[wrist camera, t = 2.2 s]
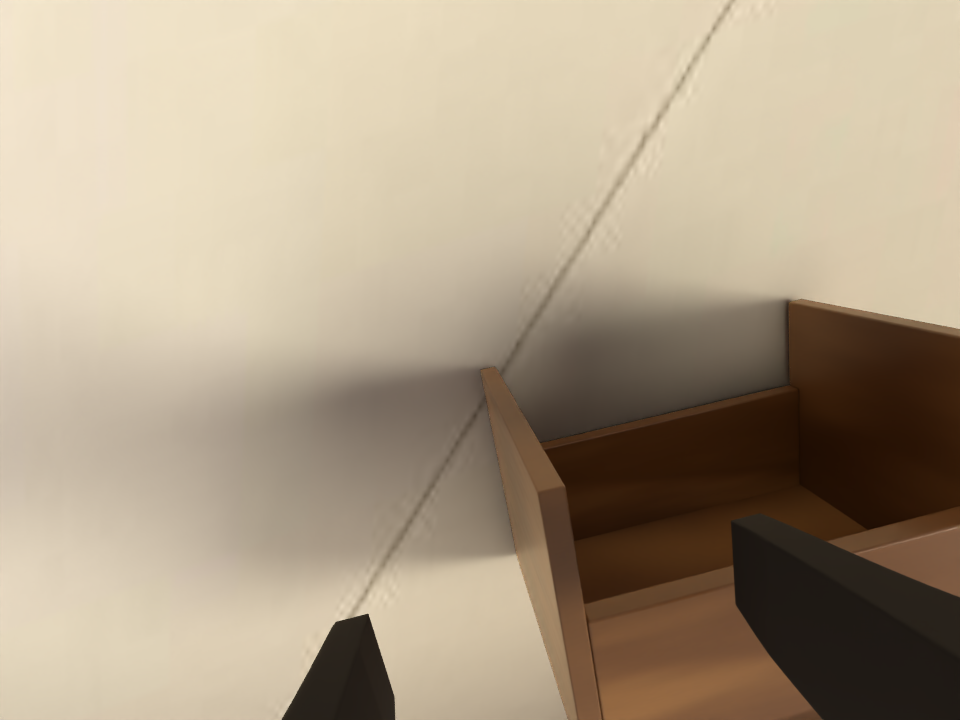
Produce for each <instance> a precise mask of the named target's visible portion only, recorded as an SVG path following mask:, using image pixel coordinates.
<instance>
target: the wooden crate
mask: <svg viewBox="0 0 960 720" xmlns="http://www.w3.org/2000/svg"><path fill="white" fill-rule="evenodd" d="M789 369H790V385H787V386H783V387H778V388H774V389H770V390H766V391H761V392H757V393H753V394H748V395H744V396H740V397H736V398H731V399H727V400H723V401H719V402H714V403H710V404H706V405H701V406H697V407H693V408H689V409H684V410H680V411H676V412H671V413H667V414H663V415H659V416H654V417H650V418H646V419H642V420H637V421H633V422H629V423H624V424H620V425H616V426H612V427H607V428H603V429H599V430H594V431H590V432H586V433H582V434H577V435H573V436H569V437H564V438H560V439H556V440H552V441H547V442H543V443H540V442H539V441H538V439H537V437H536V436H535V434H534V432H533V430H532V429H531V427H530V425H529V424H528V422H527V420H526V418H525V417H524V415H523V413H522V411H521V410H520V408H519V406H518V405H517V403H516V401H515V399H514V398H513V396H512V394H511V393H510V391H509V389H508V387H507V386H506V384H505V382H504V381H503V379H502V377H501V375H500V374H499V372H498V370H497V369H496V367H491V368H486V369H482V370H481V371H480V372H481V377H482V382H483V387H484V392H485V397H486V402H487V407H488V412H489V417H490V422H491V427H492V432H493V437H494V442H495V447H496V452H497V458H498V463H499V468H500V473H501V478H502V483H503V488H504V493H505V498H506V503H507V508H508V513H509V518H510V523H511V528H512V533H513V538H514V543H515V548H516V554H517V558H518V562H519V565H520V568H521V571H522V574H523V577H524V581H525V584H526V587H527V590H528V593H529V597H530V600H531V603H532V606H533V609H534V613H535V616H536V619H537V622H538V625H539V628H540V632H541V635H542V638H543V641H544V644H545V648H546V651H547V654H548V657H549V660H550V664H551V667H552V670H553V673H554V676H555V679H556V683H557V686H558V689H559V692H560V695H561V699H562V702H563V705H564V708H565V711H566V714H567V718H568V720H822V718H821V717H820V716H819V715H818V714H817V712H816V711H815V710H814V709H813V708H812V706H811V705H810V704H809V703H808V702H807V701H806V699H805V698H804V697H803V696H802V695H801V693H800V692H799V691H798V690H797V689H796V687H795V686H794V685H793V684H792V683H791V681H790V680H789V679H788V678H787V676H786V675H785V674H784V673H783V672H782V670H781V669H780V668H779V667H778V666H777V664H776V663H775V662H774V661H773V659H772V658H771V657H770V656H769V654H768V653H767V651H766V650H765V648H764V647H763V646H762V644H761V643H760V641H759V640H758V638H757V637H756V635H755V634H754V632H753V631H752V629H751V628H750V626H749V625H748V623H747V622H746V620H745V619H744V617H743V615H742V614H741V612H740V611H739V609H738V608H737V606H736V604H735V586H734V568H733V550H732V533H731V520H735V519H739V518H743V517H747V516H751V515H755V514H759V513H761V514H763V515H766V516H768V517H771V518H773V519H776V520H778V521H781V522H783V523H785V524H788V525H790V526H792V527H794V528H797V529H799V530H801V531H804V532H806V533H808V534H810V535H813V536H815V537H817V538H819V539H822V540H824V541H826V542H828V543H831V544H833V545H835V546H837V547H840V548H842V549H844V550H847V551H849V552H851V553H853V554H856V555H858V556H860V557H863V558H865V559H867V560H869V561H872V562H874V563H876V564H879V565H881V566H883V567H886V568H888V569H891V570H893V571H895V572H898V573H900V574H903V575H905V576H907V577H910V578H912V579H915V580H917V581H920V582H922V583H925V584H927V585H929V586H932V587H935V588H937V589H940V590H942V591H945V592H948V593H950V594H953V595H955V596H958V597H960V329H956V328H951V327H946V326H941V325H935V324H930V323H925V322H920V321H914V320H909V319H904V318H899V317H893V316H888V315H883V314H877V313H872V312H867V311H862V310H856V309H851V308H846V307H841V306H835V305H830V304H825V303H820V302H814V301H809V300H804V299H800V300H795V301H791V302H789Z"/></svg>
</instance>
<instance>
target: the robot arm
mask: <svg viewBox="0 0 960 720" xmlns="http://www.w3.org/2000/svg"><path fill="white" fill-rule="evenodd" d="M731 533H732V550H733V568H734V586H735V604H736V606H737V608H738V609H739V611H740V612H741V614H742V615H743V617H744V619H745V620H746V622H747V623H748V625H749V626H750V628H751V629H752V631H753V632H754V634H755V635H756V637H757V638H758V640H759V641H760V643H761V644H762V646H763V647H764V648H765V650H766V651H767V653H768V654H769V656H770V657H771V658H772V659H773V661H774V662H775V663H776V664H777V666H778V667H779V668H780V669H781V670H782V672H783V673H784V674H785V675H786V676H787V678H788V679H789V680H790V681H791V683H792V684H793V685H794V686H795V687H796V689H797V690H798V691H799V692H800V693H801V695H802V696H803V697H804V698H805V699H806V701H807V702H808V703H809V704H810V705H811V706H812V708H813V709H814V710H815V711H816V712H817V714H818V715H819V716H820V717H821V718H822V720H960V597H958V596H955V595H953V594H950V593H948V592H945V591H942V590H940V589H937V588H935V587H932V586H929V585H927V584H925V583H922V582H920V581H917V580H915V579H912V578H910V577H907V576H905V575H903V574H900V573H898V572H895V571H893V570H891V569H888V568H886V567H883V566H881V565H879V564H876V563H874V562H872V561H869V560H867V559H865V558H863V557H860V556H858V555H856V554H853V553H851V552H849V551H847V550H844V549H842V548H840V547H837V546H835V545H833V544H831V543H828V542H826V541H824V540H822V539H819V538H817V537H815V536H813V535H810V534H808V533H806V532H804V531H801V530H799V529H797V528H794V527H792V526H790V525H788V524H785V523H783V522H781V521H778V520H776V519H773V518H771V517H768V516H766V515H763V514H761V513H759V514H755V515H751V516H747V517H743V518H739V519H735V520H731ZM282 720H395V699H394V694H393V691H392V688H391V684H390V681H389V678H388V675H387V672H386V668H385V665H384V662H383V659H382V656H381V653H380V649H379V646H378V643H377V640H376V637H375V634H374V630H373V627H372V624H371V621H370V618H369V614H365V615H361V616H357V617H353V618H350V619H346V620H342V621H338V622H336V623H335V624H334V625H333V627H332V628H331V630H330V632H329V634H328V636H327V638H326V640H325V642H324V643H323V645H322V647H321V649H320V651H319V653H318V655H317V657H316V659H315V660H314V662H313V664H312V666H311V668H310V670H309V672H308V674H307V675H306V677H305V679H304V681H303V683H302V685H301V686H300V688H299V690H298V692H297V694H296V695H295V697H294V699H293V701H292V703H291V704H290V706H289V708H288V710H287V711H286V713H285V715H284V717H283V718H282Z"/></svg>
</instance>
